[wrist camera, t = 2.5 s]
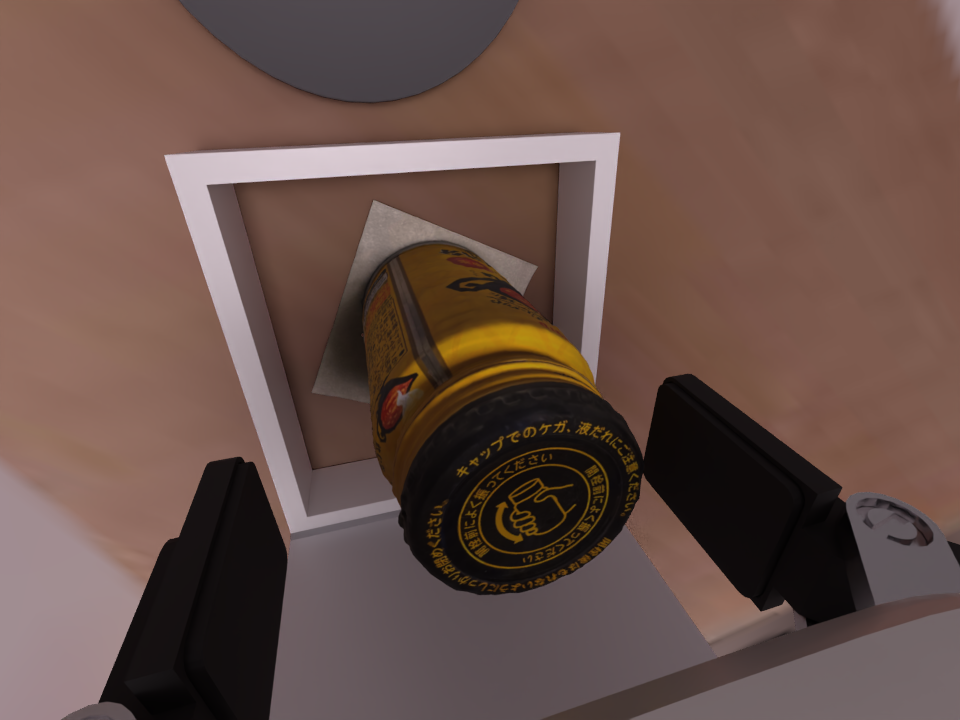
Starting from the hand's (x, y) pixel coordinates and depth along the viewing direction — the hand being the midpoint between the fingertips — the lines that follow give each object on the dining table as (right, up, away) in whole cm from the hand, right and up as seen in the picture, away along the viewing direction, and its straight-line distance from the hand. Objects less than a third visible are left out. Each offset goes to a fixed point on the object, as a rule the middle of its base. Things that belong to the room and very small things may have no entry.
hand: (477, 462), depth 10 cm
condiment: (-2, +4, +9) cm, 10 cm away
